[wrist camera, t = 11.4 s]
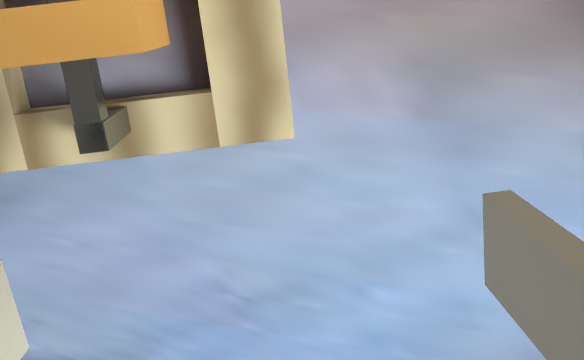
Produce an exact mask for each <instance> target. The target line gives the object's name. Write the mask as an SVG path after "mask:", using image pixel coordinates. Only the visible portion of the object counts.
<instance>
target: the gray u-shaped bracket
mask: <svg viewBox="0 0 584 360" xmlns="http://www.w3.org/2000/svg"><path fill="white" fill-rule="evenodd" d="M46 1H47V4H51V3H60V2H69V1H78V0H46ZM60 63H61V67H62V71H63V76H64V80H65V84H66V89H67V93H68V97H69V102H70V106H71V111H72V115H73V119H74V124H75V125H73V127H74V131H75V135H76V140H77V144H78V148H79V153H80V154H87V153H95V152H104V151H110V150H111V149H112V148H113V147H114V146H115V145H117V144H118V143H119V142H120V141H121V140H122V139H123V138H124V137H126V136H127V135H128V134H129V133H130V132H131V126H130V121H129V116H128V111H127V106H126V107H117V108H109V109H107V108H106V103H105V98H104V93H103V89H102V84H101V79H100V74H99V69H98V65H97V60H96V58H91V59H82V60H74V61H65V62H60Z"/></svg>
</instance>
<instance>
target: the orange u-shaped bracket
mask: <svg viewBox="0 0 584 360" xmlns="http://www.w3.org/2000/svg"><path fill="white" fill-rule="evenodd" d="M167 45H170V40H169V34H168V28H167V22H166V17H165V11H164V5H163V0H78V1H69V2H60V3H51V4H42V5H33V6H24V7H15V8H6V9H0V69H4V68H13V67H21V66H30V65H39V64H48V63H56V62H65V61H74V60H82V59H91V58H100V57H109V56H117V55H126V54H135V53H143V52H147V51H150V50H154V49H157V48H160V47H164V46H167Z"/></svg>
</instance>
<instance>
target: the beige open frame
mask: <svg viewBox="0 0 584 360" xmlns="http://www.w3.org/2000/svg"><path fill="white" fill-rule="evenodd" d="M198 5H199V11H200V18H201V25H202V31H203V38H204V44H205V51H206V58H207V64H208V71H209V77H210V84H211V88H202V89H194V90H185V91H176V92H168V93H159V94H151V95H142V96H133V97H125V98H116V99H108V100H105V103H106V108H107V109H109V108H117V107H126V106H127V111H128V116H129V121H130V126H131V132H130V133H129V134H128V135H127V136H126V137H124V138H123V139H122V140H121V141H120V142H119V143H118V144H117V145H115V146H114V147H113V148H112V149H111V150H110V151H104V152H95V153H87V154H80V153H79V148H78V144H77V140H76V135H75V131H74V127H73V125H75V124H74V119H73V115H72V111H71V106H70V104H65V105H56V106H48V107H39V108H31V107H30V103H29V99H28V95H27V91H26V87H25V83H24V79H23V75H22V71H21V67H13V68H4V69H0V173H4V172H12V171H20V170H29V169H37V168H46V167H54V166H63V165H71V164H79V163H88V162H96V161H105V160H113V159H121V158H130V157H138V156H147V155H155V154H164V153H172V152H180V151H189V150H197V149H206V148H214V147H222V146H231V145H239V144H248V143H256V142H265V141H273V140H281V139H290V138H295V136H294V127H293V118H292V109H291V99H290V90H289V81H288V72H287V63H286V54H285V45H284V36H283V27H282V17H281V8H280V0H198ZM0 9H6V7H5V3H4V0H0Z"/></svg>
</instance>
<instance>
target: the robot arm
mask: <svg viewBox="0 0 584 360" xmlns="http://www.w3.org/2000/svg"><path fill="white" fill-rule="evenodd" d="M483 230H484V267H485V285H486V286H487V288H488V289H489V290H490V291H491V292H492V294H493V295H494V296H495V297H496V299H497V300H498V301H499V302H500V303H501V305H502V306H503V307H504V308H505V310H506V311H507V312H508V313H509V314H510V316H511V317H512V318H513V319H514V320H515V322H516V323H517V324H518V325H519V327H520V328H521V329H522V330H523V331H524V333H525V334H526V335H527V336H528V338H529V339H530V340H531V341H532V342H533V344H534V345H535V346H536V347H537V349H538V350H539V351H540V352H541V353H542V355H543V356H544V357H545V358H546V359H547V360H584V242H583V241H582V240H580V239H579V238H577V237H576V236H575V235H573V234H572V233H570V232H569V231H568V230H566V229H565V228H563V227H562V226H561V225H559V224H558V223H556V222H555V221H553V220H552V219H551V218H549V217H548V216H546V215H545V214H544V213H542V212H541V211H539V210H538V209H536V208H535V207H534V206H532V205H531V204H529V203H528V202H527V201H525V200H524V199H522V198H521V197H520V196H518V195H517V194H515V193H514V192H512V191H511V190H507V191H500V192H493V193H485V194H483ZM28 348H29V346H28V343H27V339H26V336H25V333H24V330H23V327H22V323H21V320H20V317H19V314H18V311H17V307H16V304H15V301H14V298H13V295H12V291H11V288H10V285H9V282H8V279H7V275H6V272H5V269H4V266H3V263H2V260H0V360H20V359H21V358H22V357H23V355H24V354H25V352H26V351H27V350H28Z"/></svg>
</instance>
